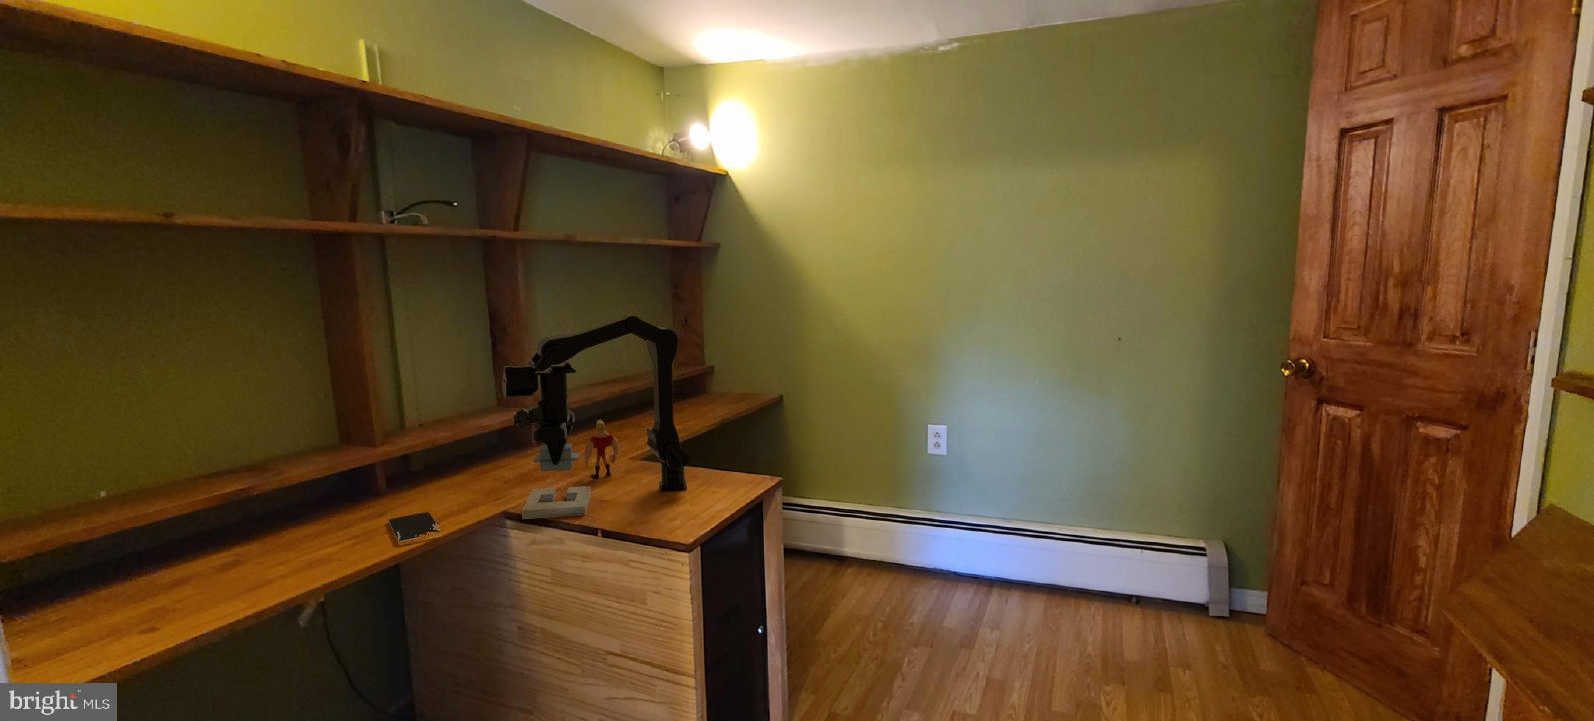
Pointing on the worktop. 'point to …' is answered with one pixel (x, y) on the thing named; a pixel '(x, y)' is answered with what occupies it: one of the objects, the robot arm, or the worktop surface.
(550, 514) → the plate
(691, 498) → the worktop surface
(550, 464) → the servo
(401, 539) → the smartphone
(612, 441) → the action figure
